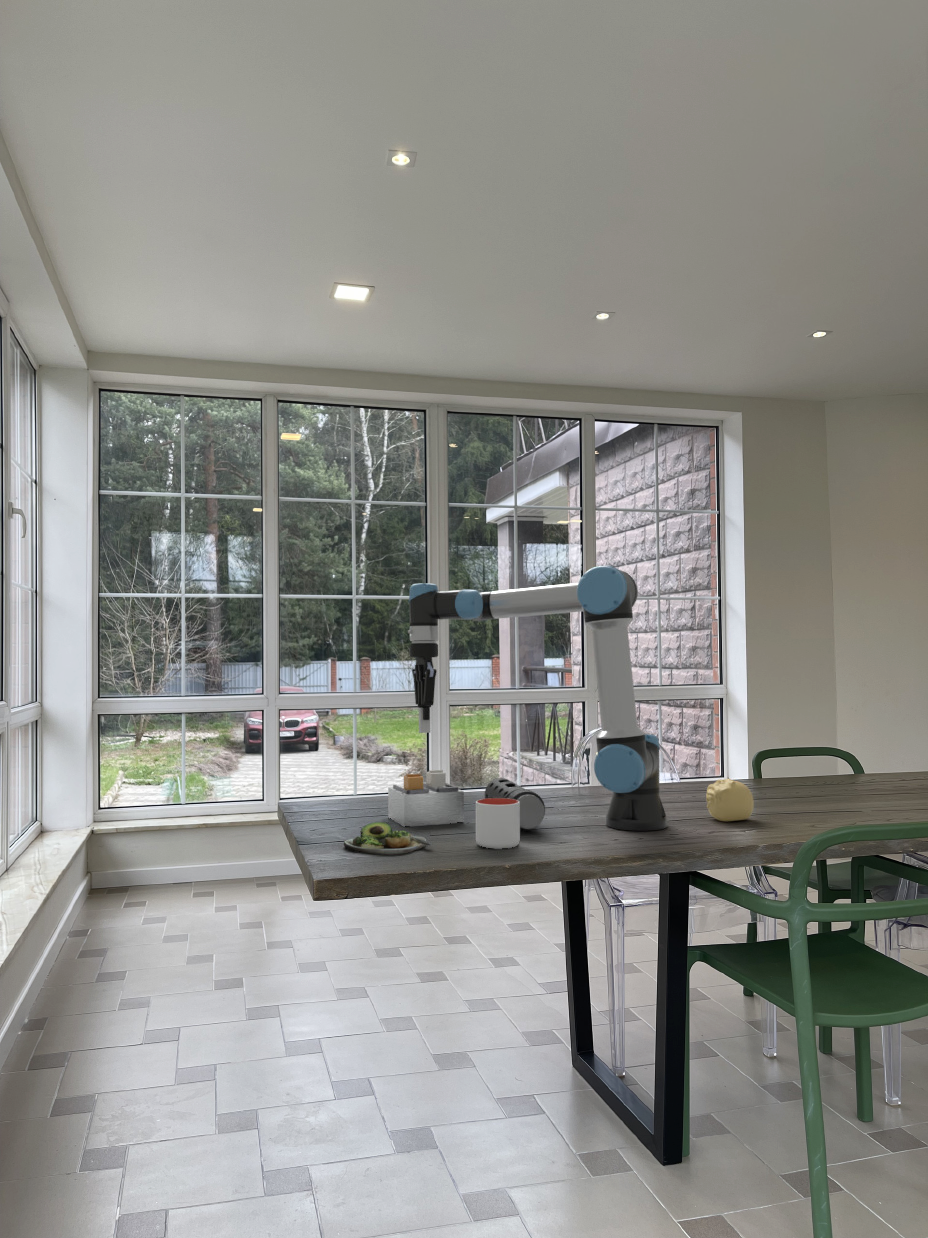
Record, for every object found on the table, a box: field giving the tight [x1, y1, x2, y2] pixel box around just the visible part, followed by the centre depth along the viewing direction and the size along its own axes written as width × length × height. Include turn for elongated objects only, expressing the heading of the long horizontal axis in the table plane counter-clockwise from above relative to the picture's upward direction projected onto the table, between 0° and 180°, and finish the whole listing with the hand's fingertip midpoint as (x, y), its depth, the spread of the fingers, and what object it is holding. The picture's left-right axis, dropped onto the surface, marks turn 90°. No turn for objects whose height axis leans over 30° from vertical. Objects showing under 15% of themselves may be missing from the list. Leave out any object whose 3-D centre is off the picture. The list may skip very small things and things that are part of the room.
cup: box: [475, 798, 521, 850], centre depth 210 cm, size 10×10×10 cm
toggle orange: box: [403, 773, 424, 790], centre depth 238 cm, size 4×4×4 cm
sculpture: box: [705, 778, 755, 822], centre depth 241 cm, size 12×12×11 cm
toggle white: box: [425, 769, 447, 787], centre depth 246 cm, size 4×4×4 cm
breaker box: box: [387, 782, 465, 828], centre depth 241 cm, size 14×16×9 cm
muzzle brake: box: [484, 777, 546, 831], centre depth 235 cm, size 10×28×10 cm, turn 12°
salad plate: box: [343, 821, 433, 855], centre depth 208 cm, size 19×18×5 cm
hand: (424, 732), depth 242 cm, fingers closed
